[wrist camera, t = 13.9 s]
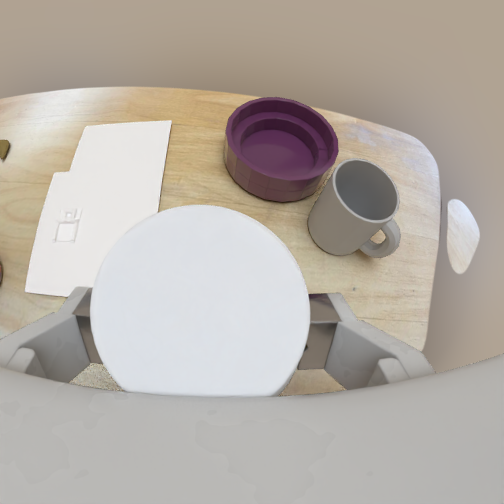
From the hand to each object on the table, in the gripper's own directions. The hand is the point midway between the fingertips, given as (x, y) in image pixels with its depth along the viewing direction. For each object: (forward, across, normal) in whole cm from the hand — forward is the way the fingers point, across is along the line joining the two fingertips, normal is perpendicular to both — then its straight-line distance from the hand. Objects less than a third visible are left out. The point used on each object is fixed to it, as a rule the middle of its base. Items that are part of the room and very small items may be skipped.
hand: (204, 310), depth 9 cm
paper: (+27, +14, +3) cm, 31 cm away
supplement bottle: (+4, 0, +4) cm, 6 cm away
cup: (+24, -15, +6) cm, 29 cm away
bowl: (+31, -7, -1) cm, 32 cm away
